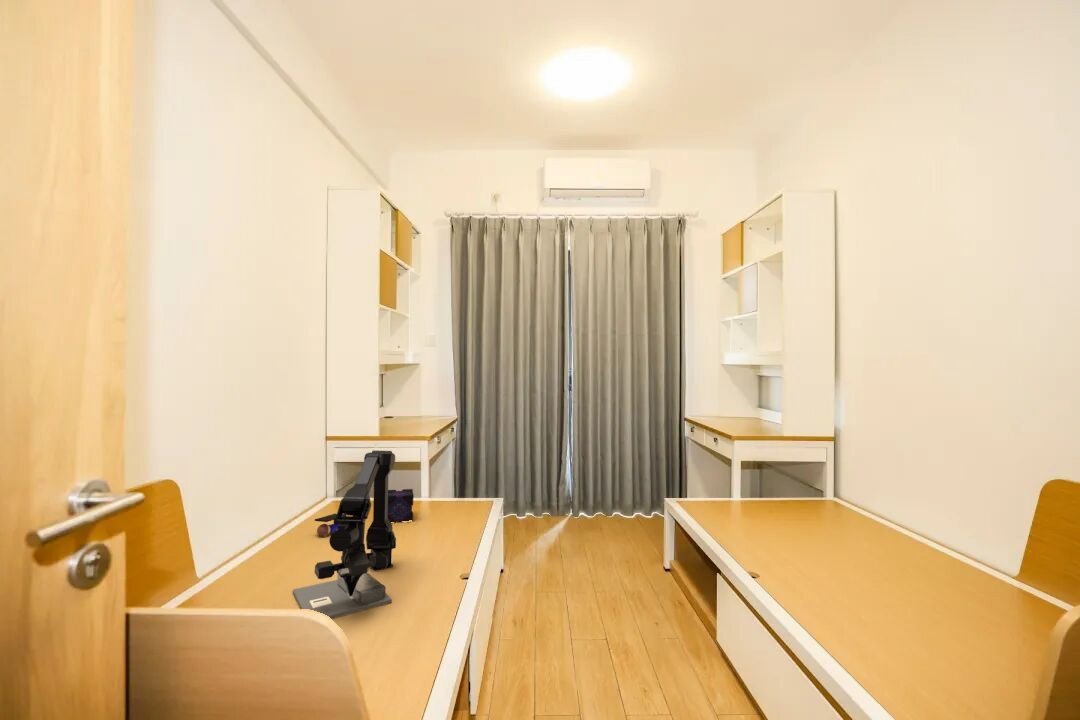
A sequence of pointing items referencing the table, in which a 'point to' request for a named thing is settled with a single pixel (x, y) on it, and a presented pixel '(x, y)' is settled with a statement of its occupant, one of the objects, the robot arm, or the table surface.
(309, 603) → the label board
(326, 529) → the figurine character
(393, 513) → the energy cube
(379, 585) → the grey long block
